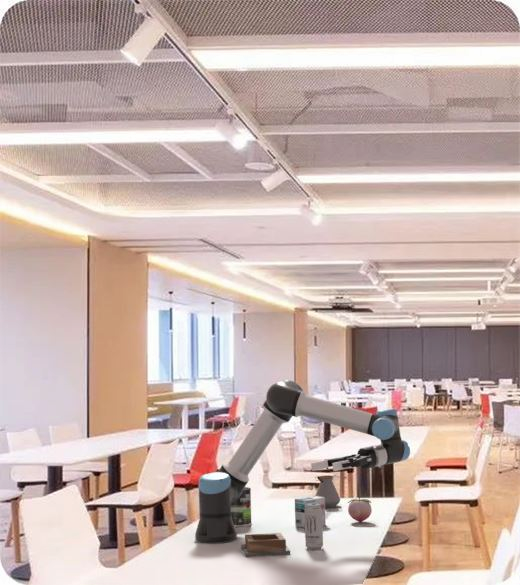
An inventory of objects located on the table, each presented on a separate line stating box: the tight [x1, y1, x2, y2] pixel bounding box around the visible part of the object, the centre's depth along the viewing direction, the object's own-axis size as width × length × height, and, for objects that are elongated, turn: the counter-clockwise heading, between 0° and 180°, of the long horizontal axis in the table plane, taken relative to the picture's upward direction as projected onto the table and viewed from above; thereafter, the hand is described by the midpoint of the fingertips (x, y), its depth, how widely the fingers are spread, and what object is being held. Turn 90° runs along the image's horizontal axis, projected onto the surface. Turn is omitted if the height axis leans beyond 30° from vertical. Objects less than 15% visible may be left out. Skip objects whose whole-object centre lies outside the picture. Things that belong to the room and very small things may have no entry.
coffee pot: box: [314, 475, 341, 509], centre depth 424 cm, size 21×12×15 cm, turn 162°
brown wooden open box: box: [240, 532, 291, 558], centre depth 338 cm, size 15×15×5 cm
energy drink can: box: [304, 503, 324, 551], centre depth 341 cm, size 6×6×15 cm
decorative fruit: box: [347, 496, 373, 523], centre depth 388 cm, size 9×8×10 cm
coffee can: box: [231, 486, 252, 528], centre depth 391 cm, size 10×10×14 cm
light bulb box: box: [294, 495, 326, 529], centre depth 384 cm, size 11×7×11 cm, turn 131°
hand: (322, 467), depth 345 cm, fingers open, 13 cm apart
